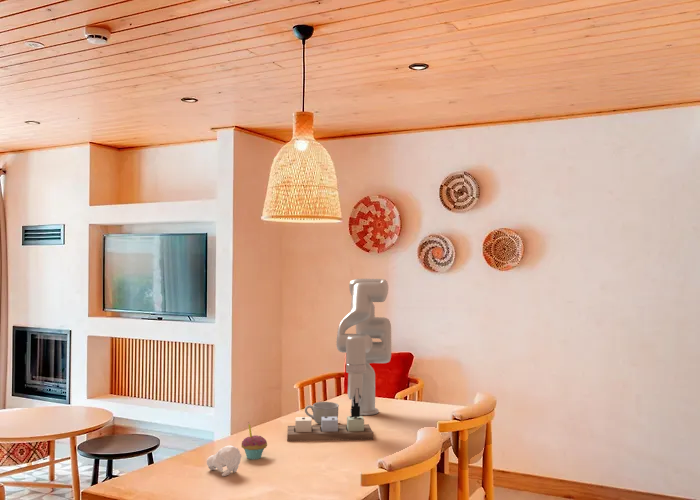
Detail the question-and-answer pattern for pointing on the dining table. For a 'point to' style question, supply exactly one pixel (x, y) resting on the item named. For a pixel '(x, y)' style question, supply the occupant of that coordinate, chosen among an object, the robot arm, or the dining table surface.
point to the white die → (329, 424)
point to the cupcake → (254, 445)
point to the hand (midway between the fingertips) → (355, 416)
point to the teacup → (322, 410)
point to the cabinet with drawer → (329, 434)
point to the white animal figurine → (225, 460)
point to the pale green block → (355, 423)
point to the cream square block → (303, 424)
